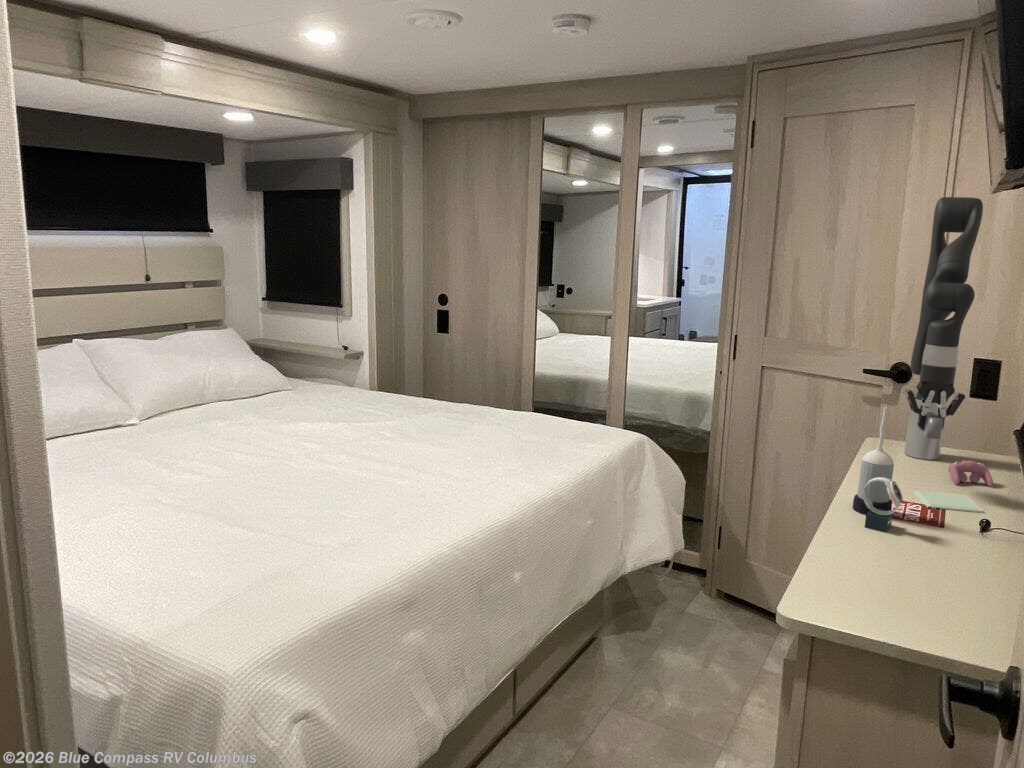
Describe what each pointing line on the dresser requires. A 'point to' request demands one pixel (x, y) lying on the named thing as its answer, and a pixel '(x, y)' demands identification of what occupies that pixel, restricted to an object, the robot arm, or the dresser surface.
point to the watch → (879, 517)
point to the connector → (932, 426)
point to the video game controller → (969, 466)
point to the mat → (948, 501)
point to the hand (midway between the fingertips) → (929, 429)
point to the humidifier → (875, 476)
